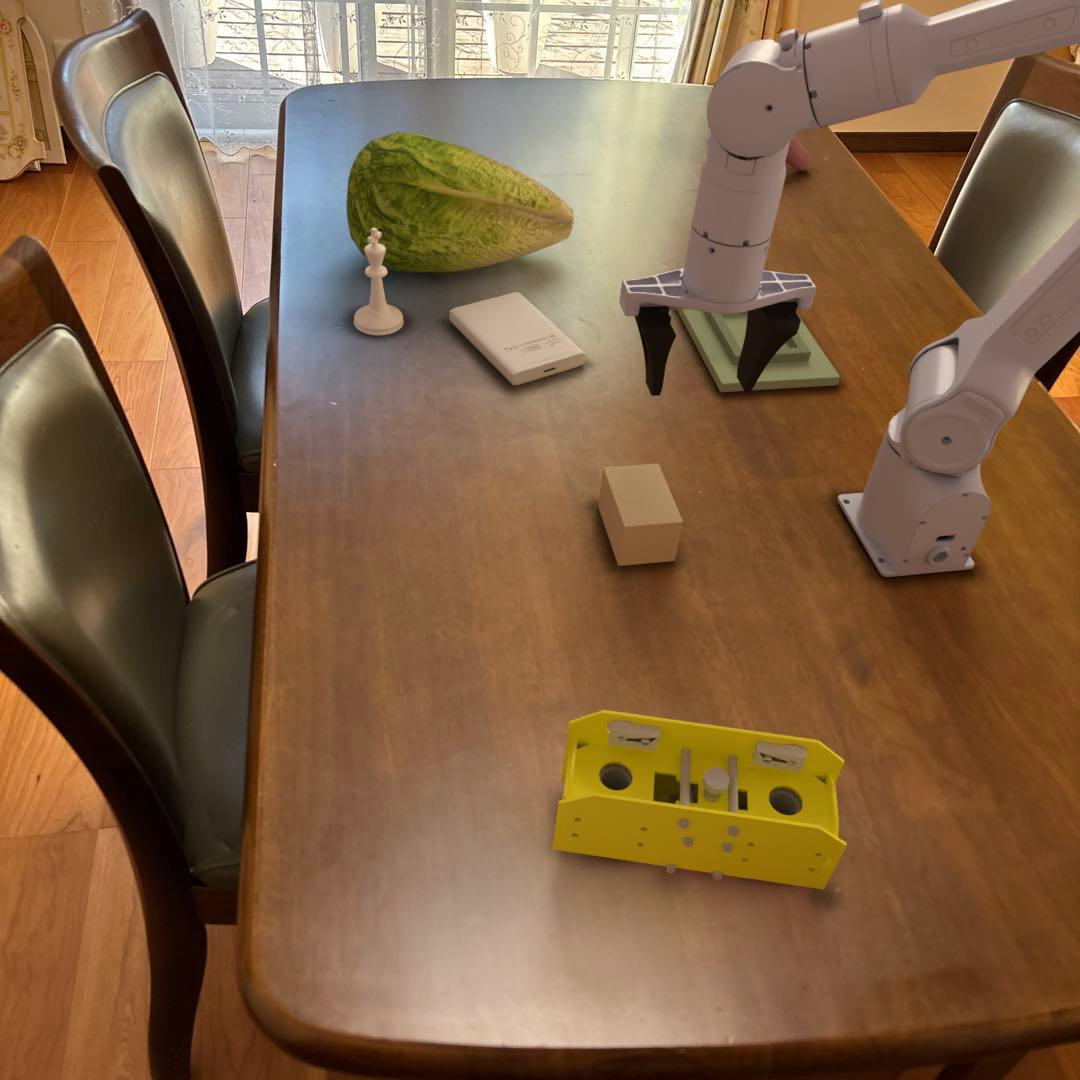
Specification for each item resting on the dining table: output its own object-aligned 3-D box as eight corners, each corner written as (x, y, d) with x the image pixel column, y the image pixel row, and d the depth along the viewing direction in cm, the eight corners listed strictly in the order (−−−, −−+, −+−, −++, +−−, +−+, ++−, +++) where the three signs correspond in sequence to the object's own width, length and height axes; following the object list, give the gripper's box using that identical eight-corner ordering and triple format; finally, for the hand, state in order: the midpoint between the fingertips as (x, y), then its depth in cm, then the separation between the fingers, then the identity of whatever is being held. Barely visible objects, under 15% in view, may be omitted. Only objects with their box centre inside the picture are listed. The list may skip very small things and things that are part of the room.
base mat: (837, 385, 99) (843, 368, 98) (720, 392, 97) (724, 375, 95) (780, 299, 110) (784, 282, 109) (673, 304, 108) (676, 287, 107)
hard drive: (518, 304, 106) (584, 365, 99) (449, 323, 103) (512, 387, 95) (519, 290, 105) (586, 350, 98) (449, 308, 102) (512, 372, 94)
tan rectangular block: (675, 561, 80) (683, 521, 77) (618, 566, 79) (624, 526, 76) (651, 502, 85) (658, 463, 82) (597, 506, 84) (603, 467, 81)
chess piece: (343, 326, 101) (336, 232, 94) (372, 304, 104) (367, 211, 97) (385, 341, 100) (381, 246, 93) (413, 318, 103) (410, 225, 96)
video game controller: (745, 156, 141) (735, 113, 136) (773, 138, 141) (764, 94, 135) (786, 186, 135) (777, 142, 129) (815, 167, 135) (808, 122, 129)
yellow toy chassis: (814, 816, 64) (850, 737, 58) (820, 901, 60) (860, 825, 54) (561, 779, 65) (572, 698, 59) (550, 861, 61) (561, 782, 55)
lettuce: (576, 306, 108) (602, 173, 102) (343, 280, 103) (353, 138, 96) (551, 263, 121) (572, 143, 114) (342, 238, 115) (351, 110, 108)
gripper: (807, 200, 77) (768, 354, 86) (619, 203, 74) (600, 361, 83) (843, 246, 72) (797, 404, 81) (643, 251, 69) (619, 413, 78)
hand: (698, 386), depth 82 cm, fingers open, 7 cm apart
